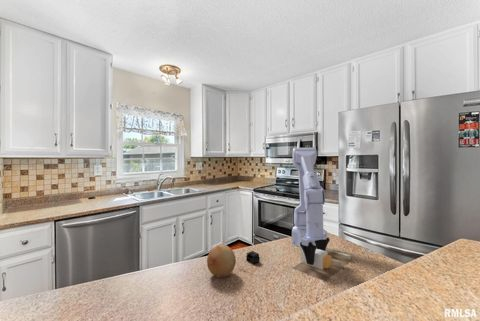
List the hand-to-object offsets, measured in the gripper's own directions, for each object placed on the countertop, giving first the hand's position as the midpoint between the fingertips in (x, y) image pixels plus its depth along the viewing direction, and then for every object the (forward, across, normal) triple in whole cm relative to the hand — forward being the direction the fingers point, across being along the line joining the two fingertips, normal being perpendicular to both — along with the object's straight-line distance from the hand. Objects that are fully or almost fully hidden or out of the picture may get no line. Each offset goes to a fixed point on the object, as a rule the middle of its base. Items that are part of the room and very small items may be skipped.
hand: (315, 260), depth 78 cm
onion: (+3, -27, +20) cm, 33 cm away
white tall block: (+1, 0, 0) cm, 1 cm away
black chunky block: (+3, -14, +18) cm, 22 cm away
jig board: (+2, +3, -1) cm, 4 cm away
